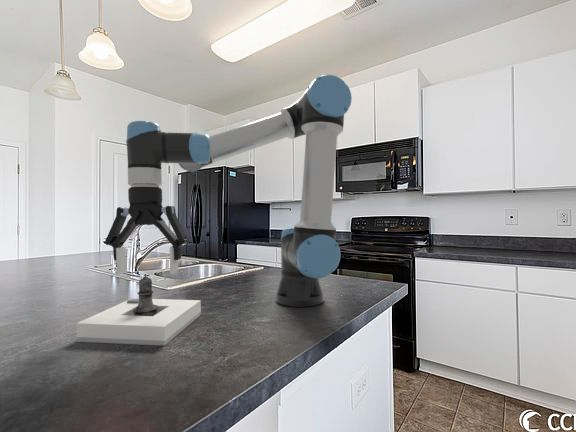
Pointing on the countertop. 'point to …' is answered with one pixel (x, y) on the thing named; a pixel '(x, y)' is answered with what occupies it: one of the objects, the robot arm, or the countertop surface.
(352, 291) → the countertop surface
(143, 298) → the dark gray chess piece
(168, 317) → the socket plate
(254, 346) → the countertop surface
